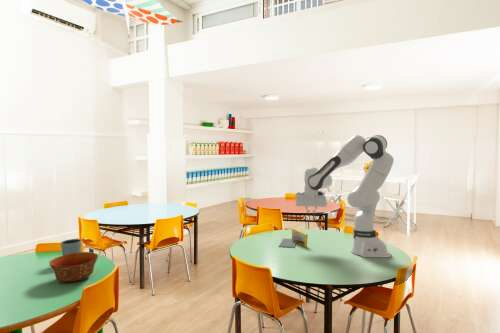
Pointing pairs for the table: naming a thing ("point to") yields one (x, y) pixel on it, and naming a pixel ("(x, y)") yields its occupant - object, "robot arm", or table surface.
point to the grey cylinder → (71, 246)
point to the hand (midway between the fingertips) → (311, 213)
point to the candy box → (299, 237)
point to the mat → (287, 243)
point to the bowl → (73, 266)
